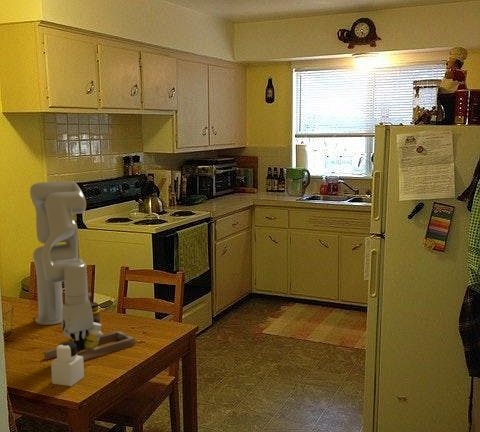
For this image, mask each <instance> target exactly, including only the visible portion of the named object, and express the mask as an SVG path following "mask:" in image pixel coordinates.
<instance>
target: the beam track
mask: <svg viewBox="0 0 480 432" xmlns="http://www.w3.org/2000/svg"><path fill="white" fill-rule="evenodd" d="M115 340H117V341H116V342H115ZM118 340H119V341H118ZM111 341H114V342H112V343H109V344H105V343H108V342H111ZM72 342H73V343H74V339H73V340H72ZM101 344H105V345H101ZM98 345H101V346H97V347H95V348H92V349H91V350H88V351H84V350H83V351H82V352H81V351H80V352H77V356H83V362H84V361H87V360H90V359H94V358H97V357H100V356H103V355H106V354H109V353H113V352H117V351H119V350H123V349H125V348H129V347H132V346H135V345H136V337H134V336H131V335H129V334H127V333H125V332H123V331H121V330H116V331H112V332H109V333H104V334H103V335H101V336H100V340H99V343H98ZM43 354H44V359H45V360H50V359H54V358H57V349H56V348H52V349H48V350H45V351H44V353H43Z"/></svg>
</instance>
